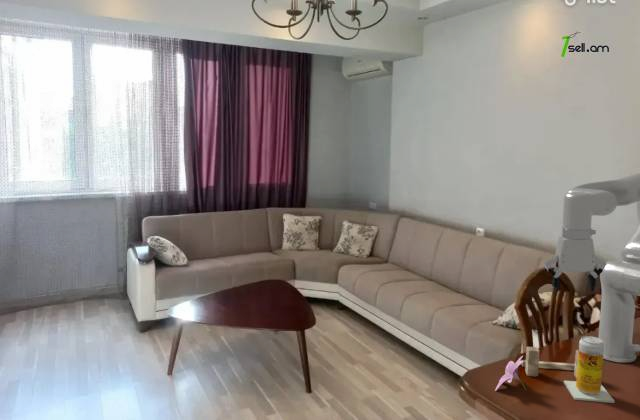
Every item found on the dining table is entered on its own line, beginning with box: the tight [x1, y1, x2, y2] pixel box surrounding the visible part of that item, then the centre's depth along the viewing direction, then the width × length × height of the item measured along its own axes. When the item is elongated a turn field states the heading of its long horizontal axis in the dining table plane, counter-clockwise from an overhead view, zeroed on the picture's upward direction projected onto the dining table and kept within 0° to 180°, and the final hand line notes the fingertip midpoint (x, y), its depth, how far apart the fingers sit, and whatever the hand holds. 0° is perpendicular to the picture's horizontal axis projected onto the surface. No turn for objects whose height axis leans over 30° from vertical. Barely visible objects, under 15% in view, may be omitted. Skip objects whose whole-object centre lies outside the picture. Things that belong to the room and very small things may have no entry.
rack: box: [521, 346, 579, 380], centre depth 153 cm, size 17×8×8 cm, turn 80°
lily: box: [494, 355, 527, 392], centre depth 143 cm, size 12×12×10 cm
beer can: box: [576, 335, 604, 395], centre depth 140 cm, size 6×6×15 cm
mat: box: [563, 380, 615, 404], centre depth 141 cm, size 10×10×1 cm
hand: (573, 289), depth 151 cm, fingers open, 9 cm apart
